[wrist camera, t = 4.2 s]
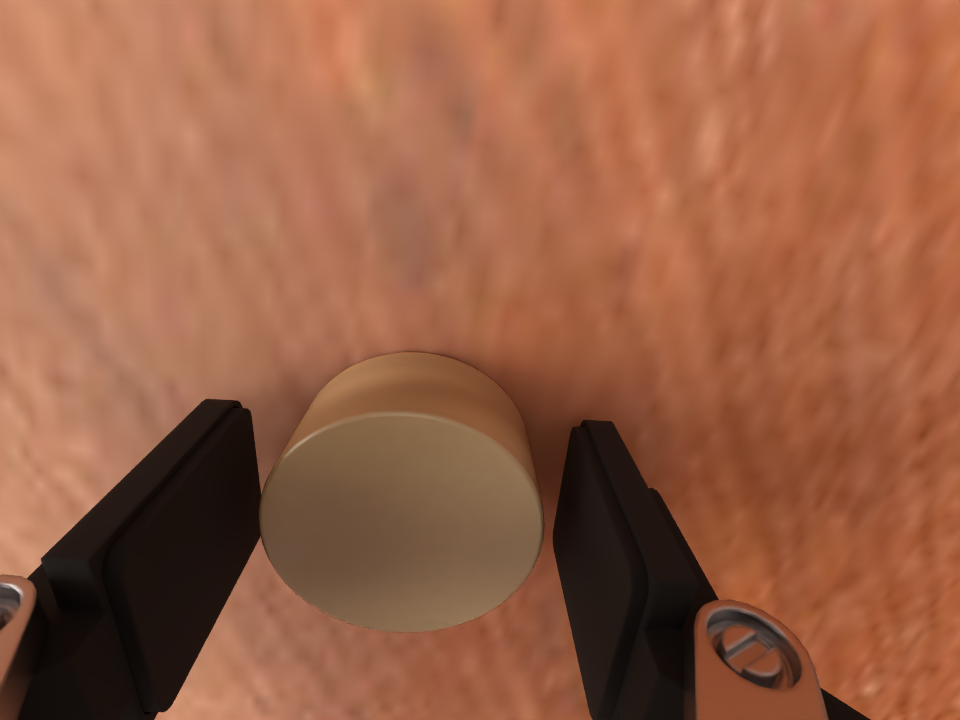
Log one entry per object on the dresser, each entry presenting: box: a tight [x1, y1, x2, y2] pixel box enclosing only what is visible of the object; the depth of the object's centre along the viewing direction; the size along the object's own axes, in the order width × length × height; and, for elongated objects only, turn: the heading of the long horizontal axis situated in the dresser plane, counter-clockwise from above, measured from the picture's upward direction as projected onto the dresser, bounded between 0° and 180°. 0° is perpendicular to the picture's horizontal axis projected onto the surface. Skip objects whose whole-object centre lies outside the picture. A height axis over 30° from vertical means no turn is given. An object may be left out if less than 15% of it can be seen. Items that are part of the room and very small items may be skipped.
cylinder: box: [259, 352, 544, 633], centre depth 9 cm, size 5×5×2 cm
